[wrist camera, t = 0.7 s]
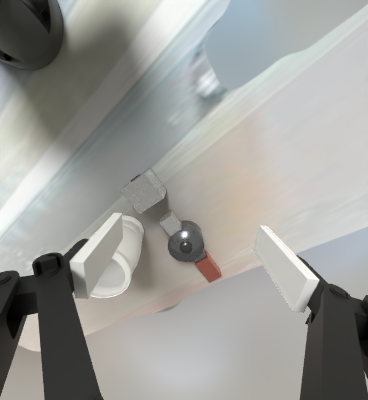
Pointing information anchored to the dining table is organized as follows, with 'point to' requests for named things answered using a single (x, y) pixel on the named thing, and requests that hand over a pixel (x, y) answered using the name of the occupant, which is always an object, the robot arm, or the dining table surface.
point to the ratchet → (189, 245)
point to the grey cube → (144, 191)
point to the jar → (121, 261)
